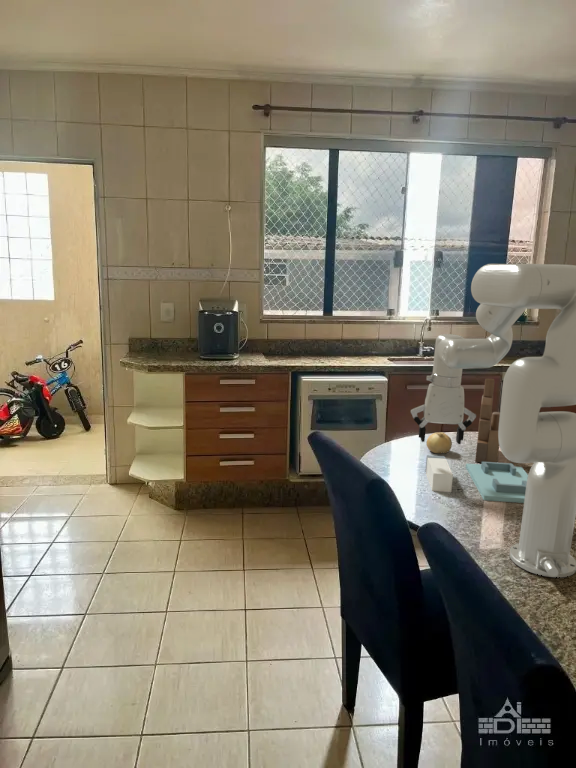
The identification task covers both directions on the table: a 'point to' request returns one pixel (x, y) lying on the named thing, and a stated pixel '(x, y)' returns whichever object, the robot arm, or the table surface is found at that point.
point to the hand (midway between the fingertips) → (440, 441)
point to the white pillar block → (438, 473)
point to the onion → (439, 443)
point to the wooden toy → (488, 427)
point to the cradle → (499, 481)
